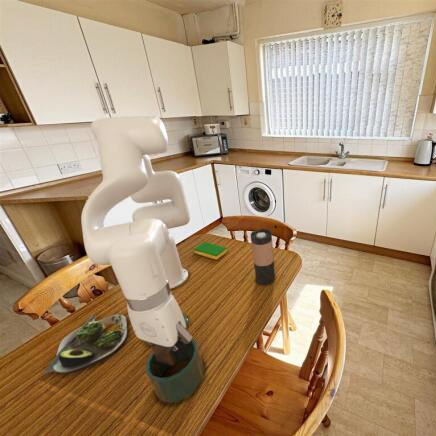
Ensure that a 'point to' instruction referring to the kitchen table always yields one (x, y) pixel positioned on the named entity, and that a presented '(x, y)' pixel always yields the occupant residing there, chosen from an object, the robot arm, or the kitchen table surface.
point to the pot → (176, 375)
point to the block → (164, 354)
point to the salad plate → (89, 345)
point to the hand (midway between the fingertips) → (171, 353)
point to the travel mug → (263, 255)
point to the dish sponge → (210, 250)
